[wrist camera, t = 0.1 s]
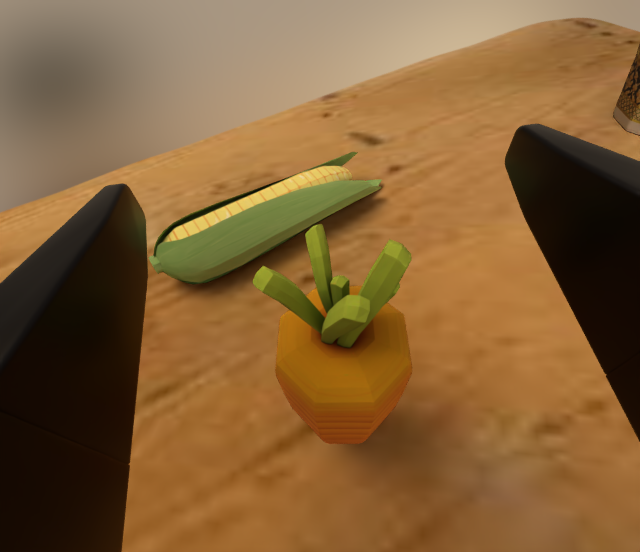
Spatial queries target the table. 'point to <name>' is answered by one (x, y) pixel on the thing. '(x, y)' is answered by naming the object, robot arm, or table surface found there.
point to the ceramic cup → (630, 99)
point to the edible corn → (255, 222)
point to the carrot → (341, 343)
